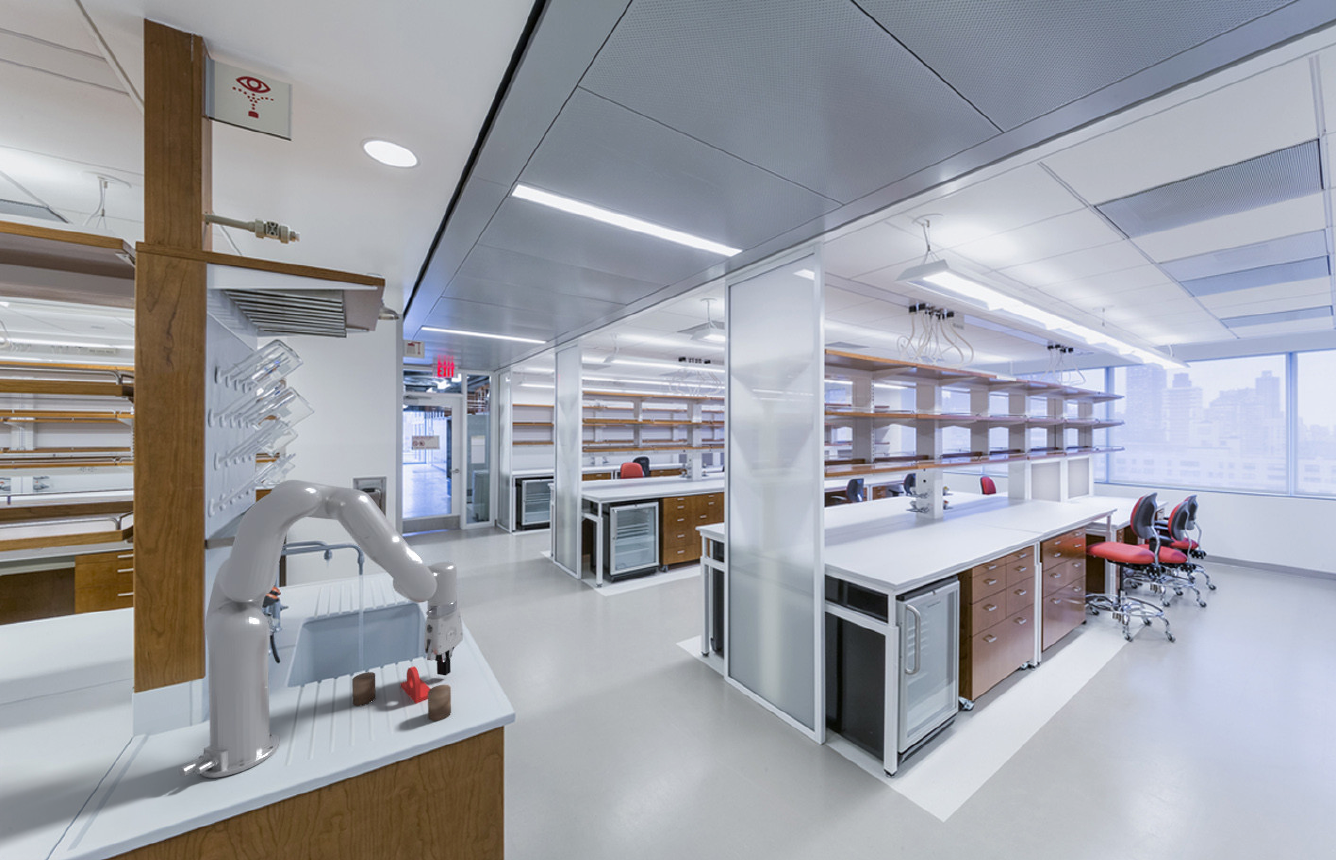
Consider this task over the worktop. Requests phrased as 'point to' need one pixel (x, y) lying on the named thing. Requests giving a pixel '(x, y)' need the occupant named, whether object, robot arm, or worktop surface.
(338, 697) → the worktop surface
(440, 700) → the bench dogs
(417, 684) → the bracket
